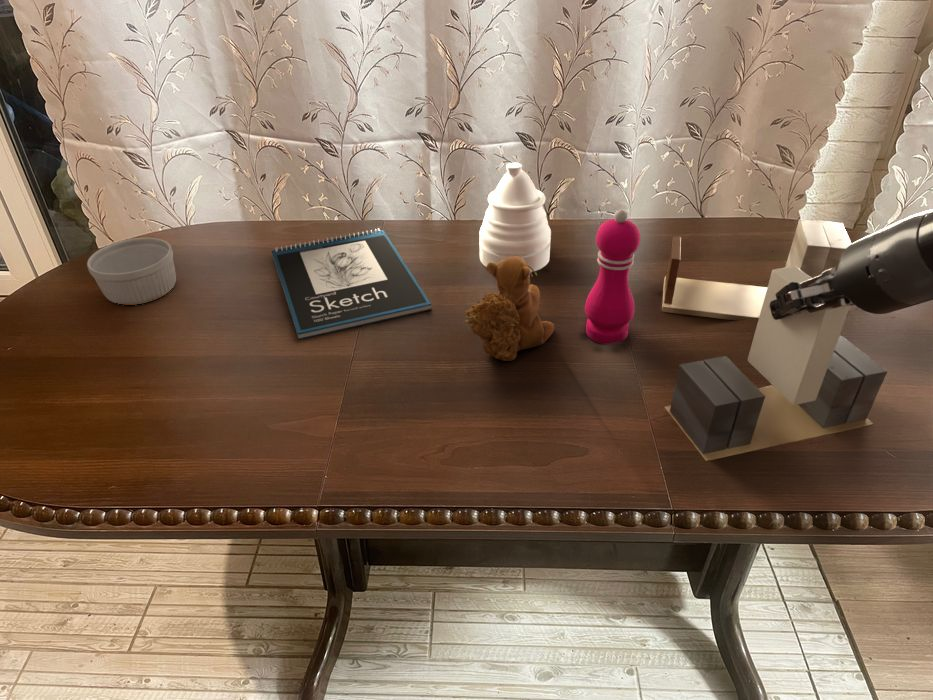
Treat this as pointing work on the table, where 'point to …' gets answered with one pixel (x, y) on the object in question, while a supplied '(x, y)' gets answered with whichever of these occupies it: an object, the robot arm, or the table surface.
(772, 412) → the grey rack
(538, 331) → the stuffed squirrel
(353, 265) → the sketchbook
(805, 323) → the white book
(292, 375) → the table surface
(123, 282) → the ramekin
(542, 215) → the honey pot
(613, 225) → the pepper mill
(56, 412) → the table surface
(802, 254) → the white rack
